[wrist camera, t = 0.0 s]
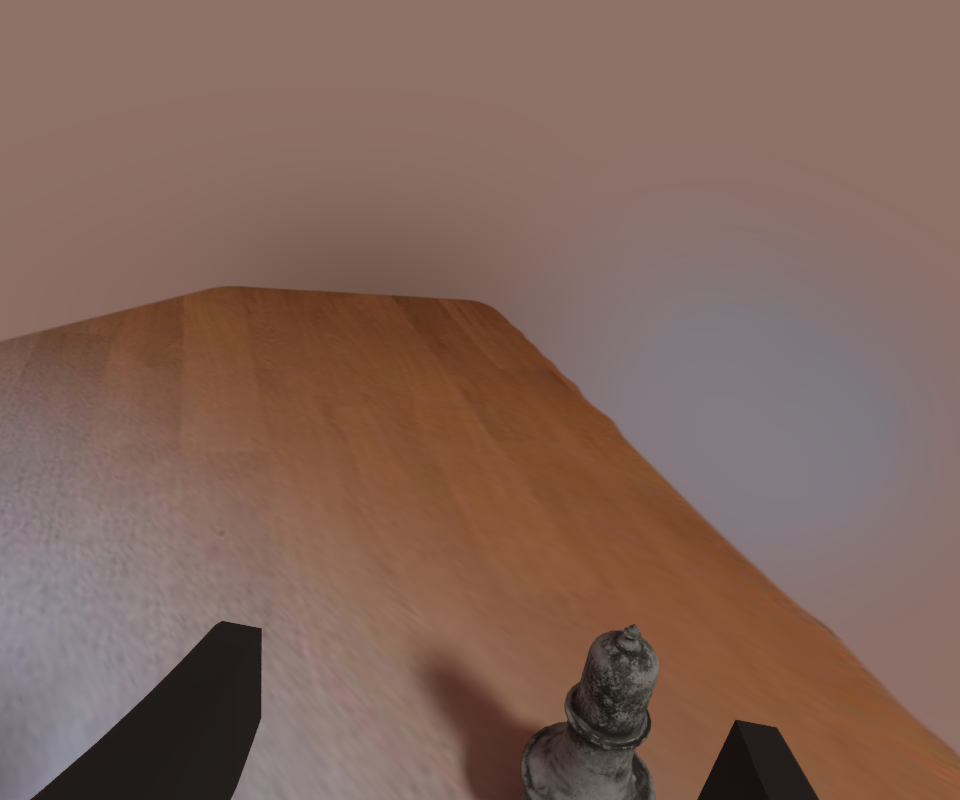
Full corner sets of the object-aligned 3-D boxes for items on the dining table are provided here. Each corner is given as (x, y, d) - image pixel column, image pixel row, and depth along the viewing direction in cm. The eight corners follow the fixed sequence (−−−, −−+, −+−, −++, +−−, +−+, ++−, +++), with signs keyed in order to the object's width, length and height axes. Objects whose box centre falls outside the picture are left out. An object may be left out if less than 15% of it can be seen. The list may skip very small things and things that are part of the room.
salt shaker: (480, 830, 33) (529, 619, 28) (553, 752, 38) (607, 558, 33) (592, 929, 30) (670, 711, 25) (658, 831, 34) (735, 630, 30)
